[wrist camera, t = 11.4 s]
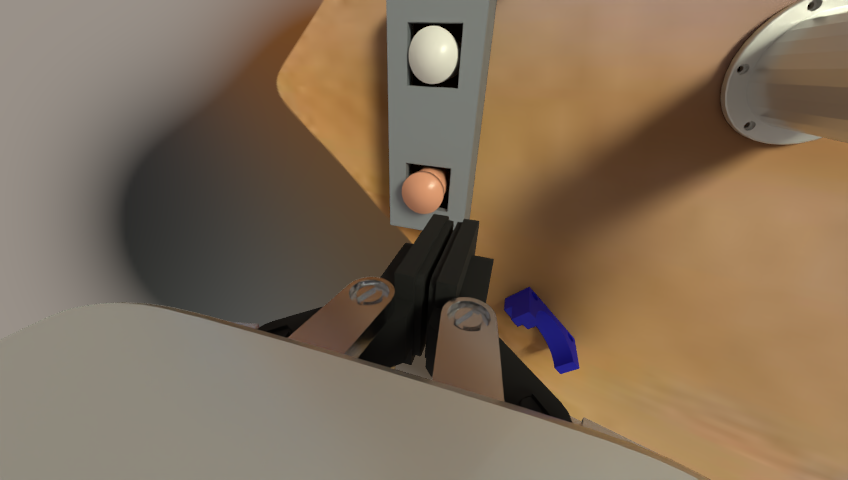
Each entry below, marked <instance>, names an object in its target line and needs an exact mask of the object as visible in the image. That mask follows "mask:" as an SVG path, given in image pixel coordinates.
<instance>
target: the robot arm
mask: <svg viewBox="0 0 848 480" xmlns="http://www.w3.org/2000/svg"><path fill="white" fill-rule="evenodd" d="M809 3H810V7H809V8H808V9H807V7H808V4H809ZM739 66H740V67H741V69H740V71H738V72H737V69H738V67H739ZM720 100H721V107H722V112H723V114H724V116H725V119H726V121H727V122H728V123H729V125H730V126H731V127H732V128H733V129H734V130H735V131H737V132H738V133H739V134H741V135H742V136H744V137H747V138H749V139H752V140H755V141H758V142H762V143H766V144H777V145H786V144H799V143H804V142H808V141H813V140H817V139H820V138H828V139H832V140H837V141H841V142H846V143H848V0H799V1H797V2H795V3H793V4H791V5H789V6H788V7H786V8H785V9H783V10H781V11H780V12H778V13H777V14H775V15H774V16H772V17H771V18H770V19H769V20H768V21H766V22H765V23H764V24H763V25H762V26H760V27H759V28H758V29H757V30H756V31H755V32H754V33H753V34H752V35H751V36H750V37H749V39H748V40H747V41H746V42H745V43H744V44H743V45H742V47H741V48H740V50H739V51H738V52H737V54H736V55H735V56H734V58H733V60H732V62H731V64H730V66H729V68H728V70H727V71H726V74H725V77H724V80H723V84H722V88H721V99H720ZM746 123H747V125H746V126H745V127H744V125H745V124H746ZM453 227H454V221H451V220H449V216H444V215H438V214H433V216H432V217H431V219H430V220H429V222H428V223H427V225H426V226H425V228H424V229H423V231H422V232H421V234H420V235H419V237H418V238H417V240H416V241H415V243H414V244H410V243H405V244H404V245H403V247H402V248H401V250H400V251H399V252H398V254H397V255H396V256H395V258H394V259H393V261H392V262H391V263H390V265H389V266H388V268H387V269H386V270H385V272H384V273H383V275H382V276H381V277H380V278H379V277H364V278H360V279H357V280H354V281H353V282H351V283H350V284H349V285H347V286H346V287H345V288H344V289H343V290H342V291H340V292H339V293H338V294H337V295H336V296H335V297H334V298H332V299H331V300H330V301H329V302H328V303H327V304H326V305H325V306H323V307H320V308H317V309H313V310H310V311H306V312H303V313H299V314H296V315H292V316H289V317H286V318H282V319H279V320H275V321H272V322H270V323H267V324H265V325H263V326H261V327H260V328H259V325H258V324H252V323H238V322H237V323H236V322H229V321H225V320H221V319H218V318H214V317H210V316H206V315H203V314H199V313H194V312H190V311H186V310H182V309H177V308H173V307H168V306H161V305H154V304H147V303H126V302H121V303H103V304H94V305H87V306H82V307H76V308H72V309H68V310H65V311H62V312H59V313H57V314H55V315H52V316H50V317H48V318H45V319H43V320H41V321H39V322H37V323H35V324H32V325H30V326H28V327H26V328H24V329H22V330H20V331H18V332H16V333H13V334H11V335H9V336H7V337H5V338H3V339H1V340H0V480H710V479H709V478H707V477H705V476H703V475H701V474H699V473H697V472H695V471H693V470H691V469H689V468H687V467H685V466H683V465H681V464H679V463H677V462H675V461H673V460H671V459H669V458H667V457H664V456H662V455H660V454H658V453H656V452H654V451H652V450H649V449H647V448H645V447H643V446H641V445H639V444H637V443H635V442H633V441H631V440H629V439H627V438H625V437H623V436H621V435H619V434H617V433H615V432H613V431H611V430H609V429H607V428H605V427H602V426H600V425H598V424H596V423H594V422H592V421H590V420H588V419H586V418H583V420H582V422H581V421H579V420H577V419H575V418H573V417H571V416H570V415H569V413H568V411H567V410H566V408H565V407H564V406H563V405H562V403H561V402H560V401H559V400H558V399H557V398H556V397H555V396H554V395H553V393H552V392H551V391H550V390H549V389H548V388H547V387H546V386H545V385H544V384H543V383H542V382H541V381H540V380H539V379H538V378H537V377H536V376H535V375H534V374H533V372H532V371H531V370H530V369H529V368H528V367H527V366H526V365H525V364H524V363H523V362H522V361H521V360H520V359H519V358H518V357H517V356H516V355H515V354H514V353H513V351H512V350H511V349H510V348H509V347H508V346H507V345H506V344H505V343H504V342H503V341H502V340H501V339H500V338H499V337H498V327H497V318H496V315H495V312H494V311H493V310H492V308H491V307H490V306H489V305H487V304H486V299H487V293H488V288H489V282H490V277H491V271H492V266H493V260H494V259H490V258H485V257H480V256H475V249H476V242H477V235H478V228H479V221H476V220H469V219H464V220H463V222H457V224H456V226H455V228H454V230H453ZM425 344H426V348H425V358H426V369H427V370H428V372H429V374H430V375H431V376H432V380H430V379H426V378H422V377H420V376H416V375H413V374H409V373H406V372H403V371H399V370H396V369H395V366H396V365H398V364H401V363H406V364H409V365H412V362H413V360H414V357H415V355H418V356H421V355H422V352H423V350H424V347H425Z"/></svg>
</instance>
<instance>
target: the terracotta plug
mask: <svg viewBox="0 0 848 480" xmlns="http://www.w3.org/2000/svg"><path fill="white" fill-rule="evenodd" d="M449 186H450V173H449V171H448V170H447V169H446V168H443V167H435V166H427V165H425V166H424V167H423V168H422V169H421V170H420V171H418V172H415V173H413V174H412V175H410V176H409V177H408V178H407V179H406V180H405V181H404V183H403V186H402V197H403V200H404V202H405V204H406V205H407V206H408V207H409V208H410V209H411V210H413V211H414V212H416V213H420V214H429V213H432V212H434V211H435V210H436V209H437V208H438V207H439V206H440V204H441V203H442V201H443V198H444V194H445V193H446V191H447V190H448V188H449Z"/></svg>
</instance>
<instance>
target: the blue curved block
mask: <svg viewBox="0 0 848 480" xmlns="http://www.w3.org/2000/svg"><path fill="white" fill-rule="evenodd" d="M504 310H505V312H506V313H507V314H508V315H509V316H510V317H511V320H512V321H513V322H514V323H515V324H516V325H517V327H518V326H521V325H524V326H525V327H526V328H527V329H530V328H532V327H535V326H536V327H537V328H538V329H539V331H540V332H541V334H542V335H543V337H544V338H545V340H546V342H547V344H548V346H549V349H550V351H551V354H552V357H553V361H554V368H555V369H556V370H557V371H558V372H559V373H560V374H562V373H566V372H569V371H572V370H576V369H579V363H578V357H577V351H576V345H575V339H574V338H573V337H572V335H571V334H570V333H569V332H568V331H567V330H566V328H565V327H564V326H563V325H562V324H561V323H560V322H559V320H558V319H557V318H556V317H555V316H554V315H553V313H552V312H551V311H550V310H549V309H548V308H547V306H546V305H545V304H544V303H543V302H542V301H541V300H540V298H539V297H538V296H537V295H536V294H535V293H534V291H533V290H532V289H531V288H530V287H528V288H526V289H524V290H522V291H520V292H518V293H516V294H513V295H511V296H509V297H507V298H505V306H504Z"/></svg>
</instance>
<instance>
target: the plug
mask: <svg viewBox="0 0 848 480" xmlns="http://www.w3.org/2000/svg"><path fill="white" fill-rule="evenodd" d="M461 46H462V45H461V43H460V42H459V41H458V40H457V39H456V38H454V37H453V35H452V34H451V33H450V32H449V31H447V30H446V29H444V28H442V27H439V26H427V27H425V28H423V29H421V30H420V31H419V32H418V33H417V34H416V35H415V36H414V38H413V39H412V41H411V44H410V47H409V64H410V67H411V70H412V71H413V73H414V75H415V76H416V77H417V78H418V79H419V80H421V81H422V82H424V83H428V84H437V83H441V82H444V81H445V80H447V79H451V78H453V77H455V76H456V75H457V74H458V73H459V69H460V58H461Z"/></svg>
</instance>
